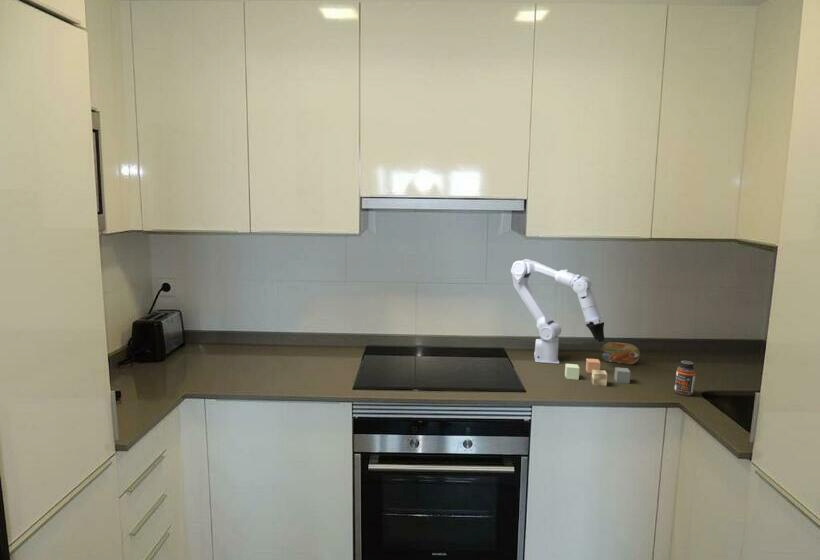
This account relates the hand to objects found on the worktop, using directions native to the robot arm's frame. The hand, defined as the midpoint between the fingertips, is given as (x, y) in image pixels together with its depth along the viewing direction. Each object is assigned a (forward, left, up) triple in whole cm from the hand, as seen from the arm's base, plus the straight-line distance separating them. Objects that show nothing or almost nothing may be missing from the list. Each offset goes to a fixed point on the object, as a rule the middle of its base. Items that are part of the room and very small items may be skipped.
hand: (600, 340), depth 207 cm
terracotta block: (-2, -2, -12) cm, 13 cm away
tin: (+11, +13, -12) cm, 21 cm away
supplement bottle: (+26, -19, -12) cm, 34 cm away
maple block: (-2, -16, -12) cm, 20 cm away
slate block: (+7, -11, -12) cm, 18 cm away
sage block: (-11, -11, -12) cm, 20 cm away
